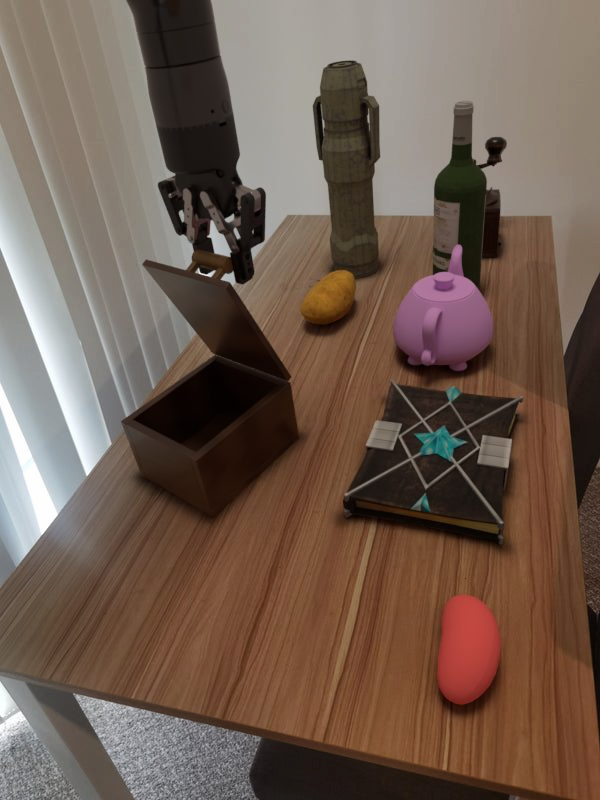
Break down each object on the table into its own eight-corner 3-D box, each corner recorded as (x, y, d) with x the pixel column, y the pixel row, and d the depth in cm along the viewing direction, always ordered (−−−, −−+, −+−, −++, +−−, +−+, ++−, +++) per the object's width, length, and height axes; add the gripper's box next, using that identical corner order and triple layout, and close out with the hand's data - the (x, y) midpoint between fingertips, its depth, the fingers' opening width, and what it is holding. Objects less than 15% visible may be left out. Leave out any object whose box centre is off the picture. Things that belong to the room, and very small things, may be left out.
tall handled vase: (376, 282, 110) (366, 67, 89) (318, 275, 115) (296, 70, 94) (393, 261, 116) (388, 56, 95) (338, 255, 121) (321, 59, 100)
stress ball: (517, 647, 54) (501, 583, 53) (499, 718, 46) (480, 644, 45) (460, 644, 56) (444, 583, 56) (434, 711, 49) (415, 641, 48)
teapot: (414, 311, 100) (413, 240, 92) (502, 320, 95) (509, 245, 87) (377, 379, 86) (373, 302, 78) (478, 394, 81) (485, 313, 73)
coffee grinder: (501, 258, 111) (510, 158, 101) (440, 258, 114) (442, 161, 103) (499, 225, 123) (507, 132, 112) (444, 226, 126) (447, 136, 115)
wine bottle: (422, 291, 105) (423, 105, 87) (457, 276, 108) (465, 94, 90) (454, 307, 99) (462, 112, 81) (489, 292, 102) (505, 100, 84)
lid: (225, 287, 59) (253, 251, 60) (141, 264, 66) (168, 231, 67) (288, 381, 72) (309, 349, 74) (212, 353, 79) (233, 324, 81)
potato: (368, 299, 105) (366, 263, 101) (335, 340, 96) (331, 302, 92) (329, 294, 108) (325, 259, 104) (293, 332, 99) (287, 295, 95)
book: (390, 400, 82) (389, 370, 79) (520, 416, 76) (524, 385, 73) (343, 518, 66) (339, 486, 63) (502, 550, 60) (507, 517, 57)
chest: (213, 517, 69) (196, 460, 63) (141, 475, 76) (120, 421, 70) (299, 438, 78) (290, 382, 72) (228, 407, 85) (215, 354, 80)
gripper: (116, 120, 59) (160, 278, 69) (219, 128, 51) (251, 304, 61) (173, 102, 64) (206, 253, 74) (275, 107, 56) (296, 274, 66)
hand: (226, 275), depth 68 cm, fingers closed on lid, 5 cm apart
